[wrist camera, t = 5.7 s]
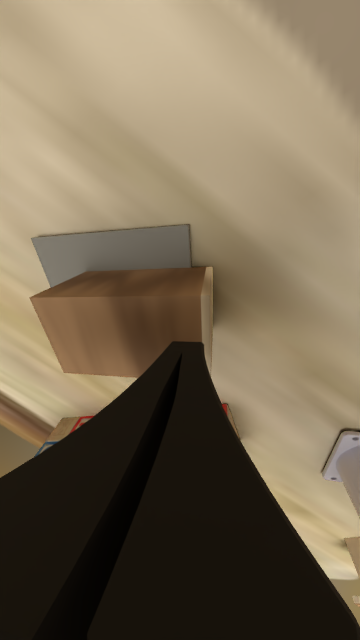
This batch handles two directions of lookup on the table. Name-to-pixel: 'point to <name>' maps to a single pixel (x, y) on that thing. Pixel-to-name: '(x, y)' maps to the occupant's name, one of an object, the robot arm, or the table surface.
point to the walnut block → (126, 318)
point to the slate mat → (113, 251)
